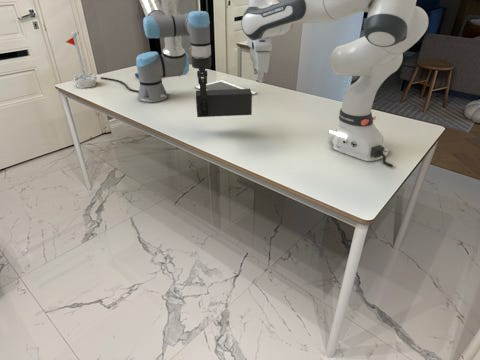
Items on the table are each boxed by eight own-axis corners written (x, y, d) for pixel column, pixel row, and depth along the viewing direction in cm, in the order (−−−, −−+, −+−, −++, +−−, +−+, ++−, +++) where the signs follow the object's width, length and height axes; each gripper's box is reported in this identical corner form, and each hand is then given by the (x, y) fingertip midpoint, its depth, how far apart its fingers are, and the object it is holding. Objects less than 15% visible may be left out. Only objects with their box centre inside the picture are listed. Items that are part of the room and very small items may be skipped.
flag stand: (97, 80, 212) (85, 28, 195) (98, 86, 202) (85, 32, 185) (75, 83, 208) (61, 30, 191) (74, 89, 198) (59, 34, 181)
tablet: (194, 87, 200) (194, 86, 200) (221, 80, 211) (221, 79, 211) (229, 101, 180) (229, 101, 180) (256, 93, 191) (256, 92, 191)
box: (249, 109, 147) (249, 88, 142) (251, 114, 142) (252, 93, 137) (197, 111, 145) (195, 90, 140) (197, 117, 140) (195, 95, 135)
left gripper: (191, 50, 138) (195, 105, 150) (190, 63, 122) (195, 122, 134) (210, 50, 138) (212, 104, 151) (211, 62, 122) (214, 121, 135)
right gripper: (246, 34, 134) (246, 70, 142) (255, 47, 117) (254, 86, 125) (262, 34, 135) (261, 69, 143) (273, 47, 118) (270, 85, 126)
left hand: (204, 113), depth 143 cm, fingers closed on box, 6 cm apart
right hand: (257, 77), depth 134 cm, fingers open, 8 cm apart
